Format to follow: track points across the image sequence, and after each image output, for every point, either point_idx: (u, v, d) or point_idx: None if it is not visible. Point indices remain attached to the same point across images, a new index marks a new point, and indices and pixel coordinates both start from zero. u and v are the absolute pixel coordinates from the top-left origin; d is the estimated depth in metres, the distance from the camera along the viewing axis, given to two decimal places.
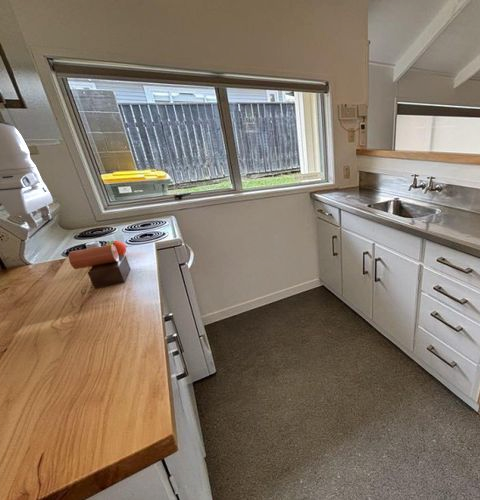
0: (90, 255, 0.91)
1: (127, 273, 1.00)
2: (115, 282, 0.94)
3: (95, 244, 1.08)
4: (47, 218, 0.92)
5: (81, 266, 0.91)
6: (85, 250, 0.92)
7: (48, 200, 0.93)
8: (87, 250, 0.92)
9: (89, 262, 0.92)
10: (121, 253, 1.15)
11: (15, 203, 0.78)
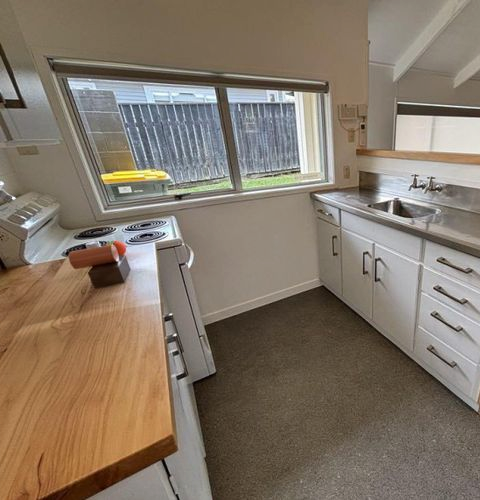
0: (90, 255, 0.91)
1: (127, 273, 1.00)
2: (115, 282, 0.94)
3: (95, 244, 1.08)
4: (10, 199, 0.83)
5: (81, 266, 0.91)
6: (85, 250, 0.92)
7: None
8: (87, 250, 0.92)
9: (89, 262, 0.92)
10: (121, 253, 1.15)
11: None
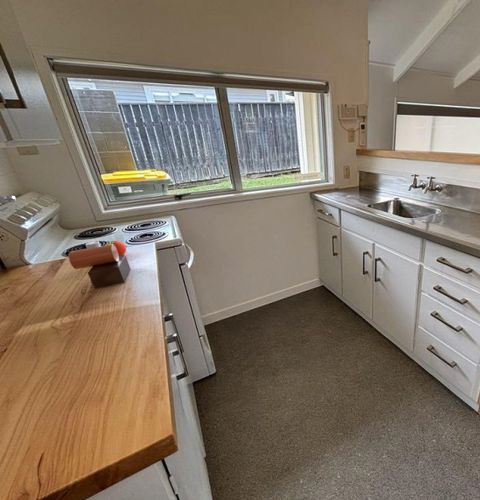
0: (90, 254, 0.91)
1: (127, 273, 1.00)
2: (115, 282, 0.94)
3: (95, 244, 1.08)
4: None
5: (81, 266, 0.91)
6: (85, 250, 0.92)
7: None
8: (87, 250, 0.92)
9: (89, 262, 0.92)
10: (121, 253, 1.15)
11: None
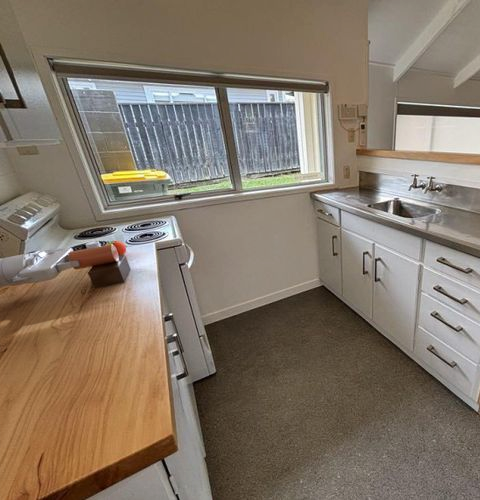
0: (90, 255, 0.91)
1: (127, 273, 1.00)
2: (115, 282, 0.94)
3: (95, 244, 1.08)
4: None
5: (81, 266, 0.91)
6: (85, 250, 0.92)
7: None
8: (87, 250, 0.92)
9: (89, 262, 0.92)
10: (121, 253, 1.15)
11: None
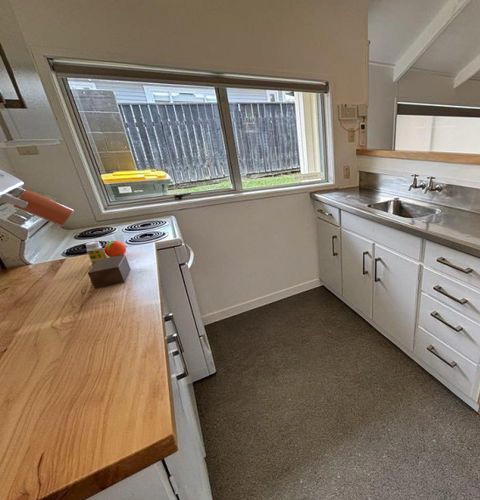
0: (46, 206, 0.83)
1: (127, 273, 1.00)
2: (115, 282, 0.94)
3: (95, 244, 1.08)
4: None
5: (23, 208, 0.81)
6: (44, 198, 0.84)
7: None
8: (46, 200, 0.84)
9: (36, 211, 0.82)
10: (121, 253, 1.15)
11: None
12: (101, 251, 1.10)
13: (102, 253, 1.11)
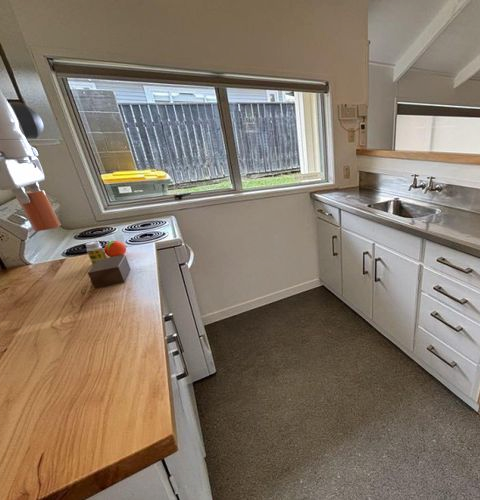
0: (42, 211, 0.83)
1: (127, 273, 1.00)
2: (115, 282, 0.94)
3: (95, 244, 1.08)
4: None
5: None
6: (48, 204, 0.84)
7: None
8: (48, 206, 0.84)
9: (29, 209, 0.81)
10: (121, 253, 1.15)
11: None
12: (101, 251, 1.10)
13: (102, 253, 1.11)
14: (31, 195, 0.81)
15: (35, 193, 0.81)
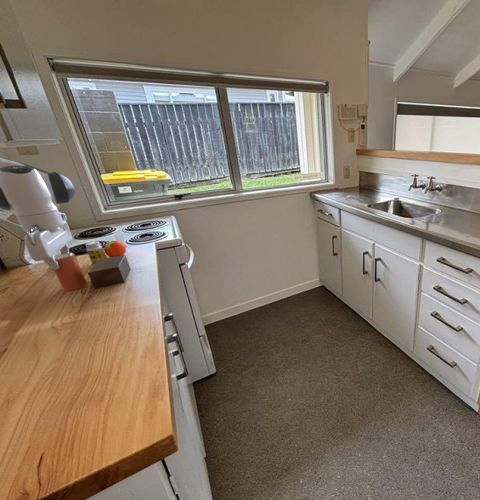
0: (71, 273, 0.91)
1: (127, 273, 1.00)
2: (115, 282, 0.94)
3: (95, 244, 1.08)
4: None
5: None
6: (77, 266, 0.92)
7: None
8: (77, 268, 0.92)
9: (60, 273, 0.89)
10: (121, 253, 1.15)
11: None
12: (101, 251, 1.10)
13: (102, 253, 1.11)
14: (63, 260, 0.88)
15: (66, 258, 0.89)
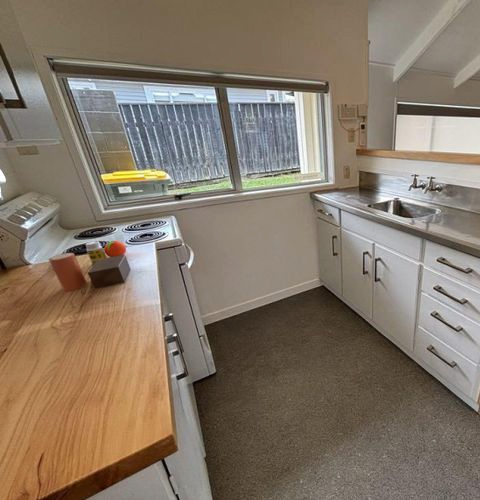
0: (71, 273, 0.91)
1: (127, 273, 1.00)
2: (115, 282, 0.94)
3: (95, 244, 1.08)
4: None
5: (54, 266, 0.88)
6: (77, 266, 0.92)
7: None
8: (77, 268, 0.92)
9: (60, 273, 0.89)
10: (121, 253, 1.15)
11: None
12: (101, 251, 1.10)
13: (102, 253, 1.11)
14: (63, 260, 0.88)
15: (66, 258, 0.89)
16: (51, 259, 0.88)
